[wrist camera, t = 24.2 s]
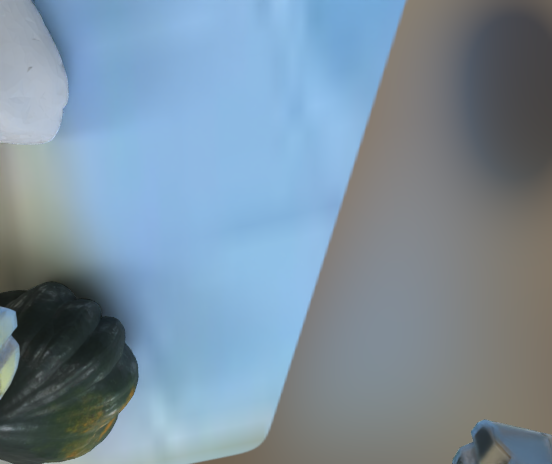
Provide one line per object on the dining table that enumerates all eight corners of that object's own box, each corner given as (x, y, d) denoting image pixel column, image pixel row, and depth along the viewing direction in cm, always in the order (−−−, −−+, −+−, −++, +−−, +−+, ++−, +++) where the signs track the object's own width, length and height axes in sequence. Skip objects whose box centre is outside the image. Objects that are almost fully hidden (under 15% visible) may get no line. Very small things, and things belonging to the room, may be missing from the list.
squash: (84, 471, 48) (75, 527, 34) (-72, 407, 45) (-151, 439, 31) (156, 333, 53) (174, 333, 39) (18, 267, 50) (-16, 240, 36)
